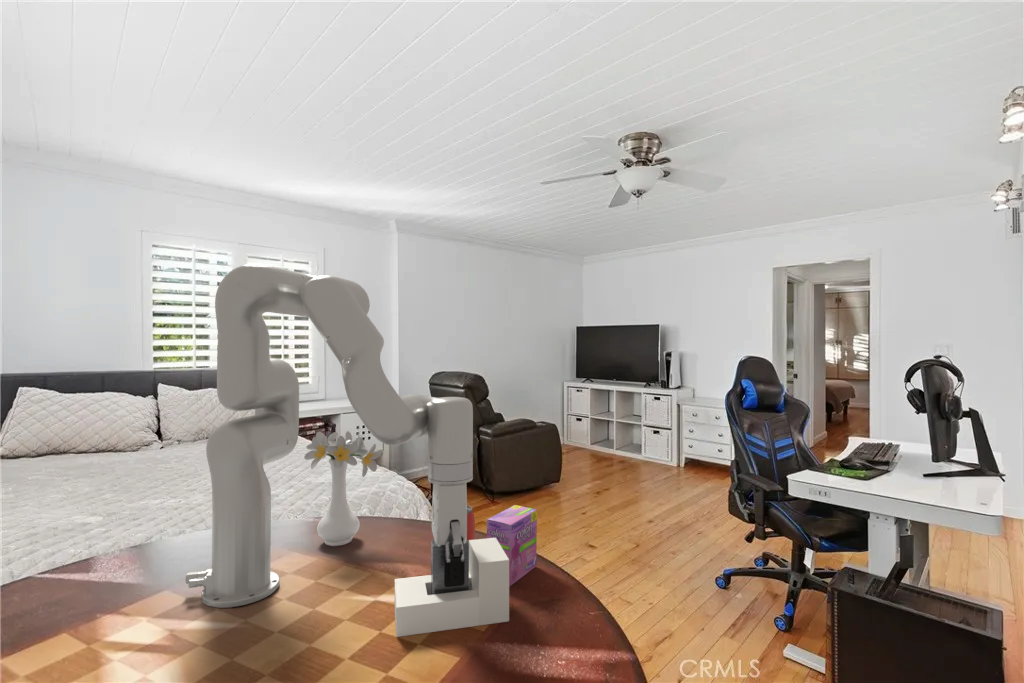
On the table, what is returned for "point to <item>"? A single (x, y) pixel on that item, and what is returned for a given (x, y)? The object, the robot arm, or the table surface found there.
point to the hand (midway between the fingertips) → (450, 572)
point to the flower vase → (340, 482)
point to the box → (516, 538)
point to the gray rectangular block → (438, 569)
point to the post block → (457, 595)
